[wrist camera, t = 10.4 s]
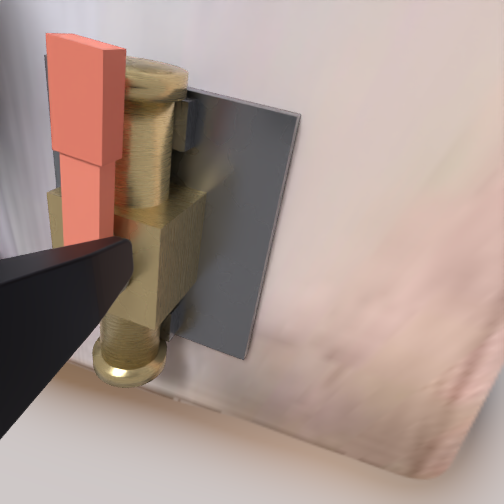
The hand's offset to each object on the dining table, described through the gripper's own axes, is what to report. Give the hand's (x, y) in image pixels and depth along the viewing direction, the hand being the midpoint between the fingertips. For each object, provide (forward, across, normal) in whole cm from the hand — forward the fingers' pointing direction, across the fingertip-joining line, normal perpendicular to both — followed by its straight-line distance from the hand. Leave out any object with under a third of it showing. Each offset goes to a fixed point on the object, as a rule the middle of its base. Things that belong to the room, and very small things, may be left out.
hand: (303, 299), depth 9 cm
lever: (+6, +10, +1) cm, 12 cm away
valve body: (+12, +11, +6) cm, 17 cm away
